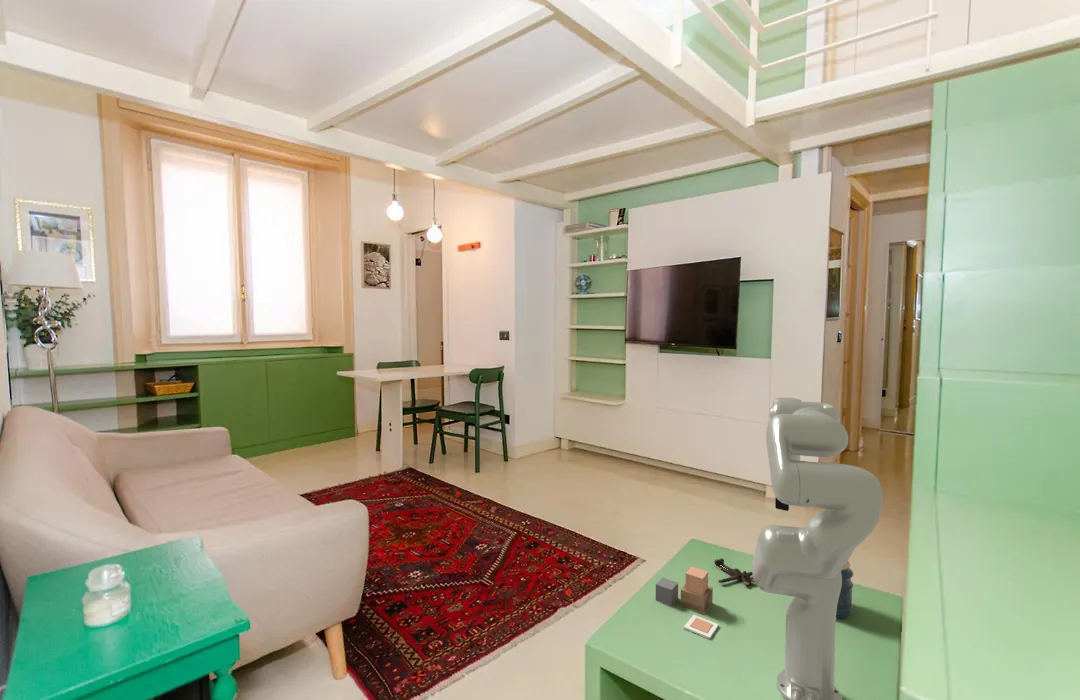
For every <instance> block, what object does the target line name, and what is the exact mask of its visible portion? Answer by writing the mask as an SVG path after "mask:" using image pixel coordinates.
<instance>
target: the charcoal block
mask: <svg viewBox="0 0 1080 700" xmlns="http://www.w3.org/2000/svg"><path fill="white" fill-rule="evenodd" d="M677 600H679V582H677V581H675V580H671V579H669V578H665V577H663V576H662V577H661V578H660V579H659V580H658V582H656V583H655V601H657V602H659V601H660V603H662V602H663V604H664V603H666V604H665V605H667V604H668V606H670V607H672V606H673V605H674V604H675V603H676V602H677ZM675 601H676V602H675ZM674 602H675V603H674Z"/></svg>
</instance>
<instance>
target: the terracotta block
mask: <svg viewBox="0 0 1080 700" xmlns="http://www.w3.org/2000/svg"><path fill="white" fill-rule="evenodd" d="M684 585H685V590H687V591H690V592H693V593H696V594H699V595H702V596H703V594H704V593H705V592H706V590H707V589H708V586H709V571H707V570H704V569H701V568H699V567H694V566H690V568H689V569H688V570H687V571H686V572H685V584H684Z"/></svg>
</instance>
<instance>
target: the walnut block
mask: <svg viewBox="0 0 1080 700" xmlns="http://www.w3.org/2000/svg"><path fill="white" fill-rule="evenodd" d="M713 588H714V587H713V586H710V585H708V589H707V590H706V592H705V593H704V594H703V596H702V595H699V594H696V593H693V592H690V591H687V590H685V584H684V585H683V587H682V588H680V606H682V607H683V606H684V608H686V607H687V608H686V609H690V610H691V609H692V610H691V611H694V612H697V613H700V614H703V615H705V614H706V613H707V612H708V610H709V609H710V608H711V606H712V604H713V595H714V592H713Z"/></svg>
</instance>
